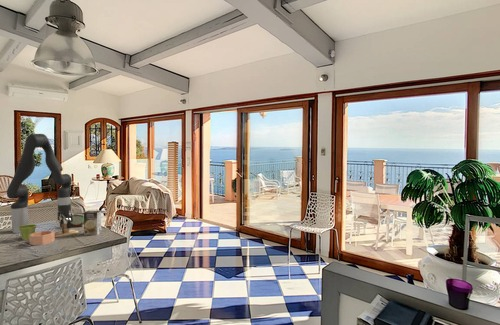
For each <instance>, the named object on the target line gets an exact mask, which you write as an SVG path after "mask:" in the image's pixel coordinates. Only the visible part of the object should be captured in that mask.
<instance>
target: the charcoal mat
mask: <svg viewBox="0 0 500 325" xmlns="http://www.w3.org/2000/svg"><path fill="white" fill-rule="evenodd" d="M82 234H83V235H84V231H79V230H78V234H76V235H73V236H69V237H63V238H55V240H59V241H60V240H65V239H68V238H72V237H76V236H78V235H82Z"/></svg>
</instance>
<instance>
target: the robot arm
mask: <svg viewBox="0 0 500 325" xmlns="http://www.w3.org/2000/svg"><path fill="white" fill-rule="evenodd" d="M50 142H51V141H50V140H49V138H48V136H47V135H46V134H43V133H30V134H28V135H27V136H26V139H25V142H24V147H23V151H22V154H21V158H20V160H19V162H18V165H17V168H16V170H15V172H14V175H13V177H12V180H11V182H10V183H9V185H8V187H7V189H6V196H7V198H8V199H10V200H14V199H17V200H16V201H15V202H12V204H11V205H10V214H11V233H13V234H21V231H20V229H19V227H21V226H24V225H29V214H28V213H29V211H28V210H29V209H28V203H29V189H28V186H27V185H25V184H22V183H23V182H24V181H25V180H27V179H28V178H29V177H30V176H31V175H32V174H33V173H34V170H35V168H36V164H37V162H36V159H35V157H34V152H35V150H36V149H38V148H41V149H42V150H43V151H44V155H45V164H46V166H47V168H48V170H49V171H50V172H51V177H52V181H53V182H54V183H55V184H56V185H57V186H60V188H59V189H57V221H59V227H60V228H62V224H65V221H66V223H67V228H69V229H71V228H72V227H71V222H73V218H72V212H70V211H71V210H72V202H71V187H72V182H73V179H72V176H71V175H70V174H68V173H64V174H62V173H61V172H62V171H63V169H64V168H63V167H62V165H61V163H60V162H59V160H58V159H57V157H56V155H55V152H54V149H53V147H52V145H51V143H50Z"/></svg>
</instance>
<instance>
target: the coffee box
mask: <svg viewBox="0 0 500 325" xmlns="http://www.w3.org/2000/svg"><path fill="white" fill-rule="evenodd" d="M101 212H102V211H101V210H86V211H84V212H83V213H84V226H83V232H84V233H83V236H98V235H100V234H102V213H101Z"/></svg>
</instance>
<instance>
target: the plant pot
mask: <svg viewBox="0 0 500 325" xmlns="http://www.w3.org/2000/svg"><path fill="white" fill-rule="evenodd" d="M37 226H38V225H37V224H28V225H24V226H21V227H19V229H20V231H21V233H20V236H21V240H22V241H27V240H29V235H30V234H32V233H35V232H36V228H37Z"/></svg>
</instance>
